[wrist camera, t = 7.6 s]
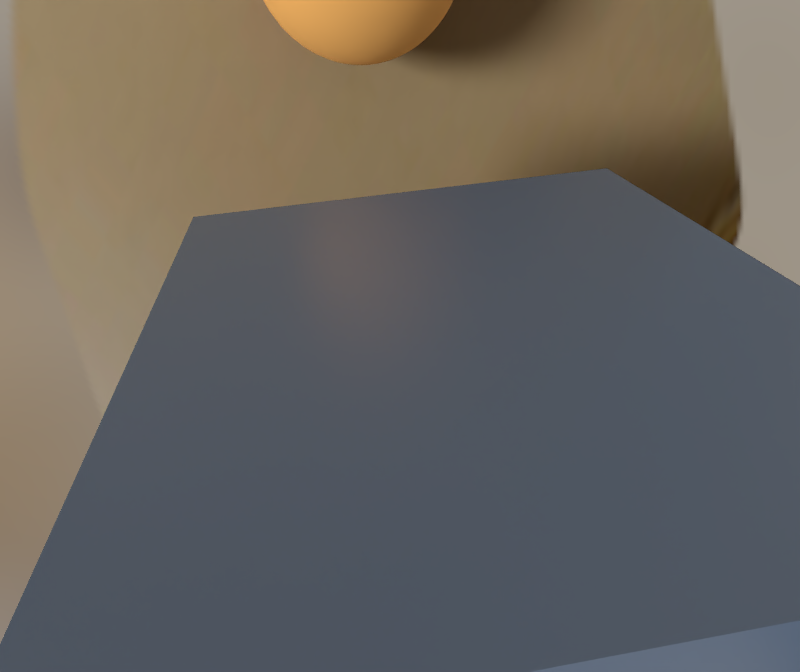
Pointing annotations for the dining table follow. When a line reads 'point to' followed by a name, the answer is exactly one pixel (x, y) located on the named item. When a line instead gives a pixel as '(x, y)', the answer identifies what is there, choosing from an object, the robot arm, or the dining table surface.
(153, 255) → the dining table surface
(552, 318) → the matte slate cube
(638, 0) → the dining table surface
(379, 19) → the ball
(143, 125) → the dining table surface
